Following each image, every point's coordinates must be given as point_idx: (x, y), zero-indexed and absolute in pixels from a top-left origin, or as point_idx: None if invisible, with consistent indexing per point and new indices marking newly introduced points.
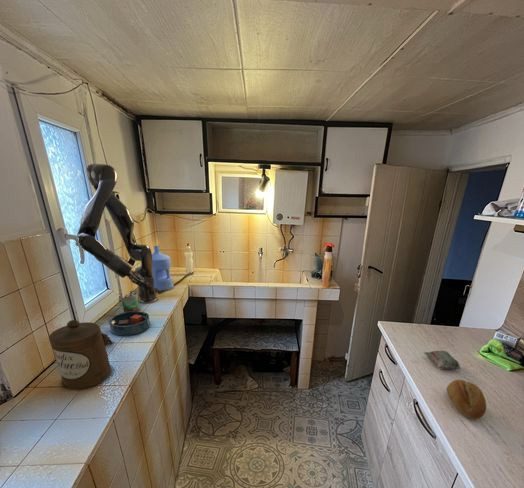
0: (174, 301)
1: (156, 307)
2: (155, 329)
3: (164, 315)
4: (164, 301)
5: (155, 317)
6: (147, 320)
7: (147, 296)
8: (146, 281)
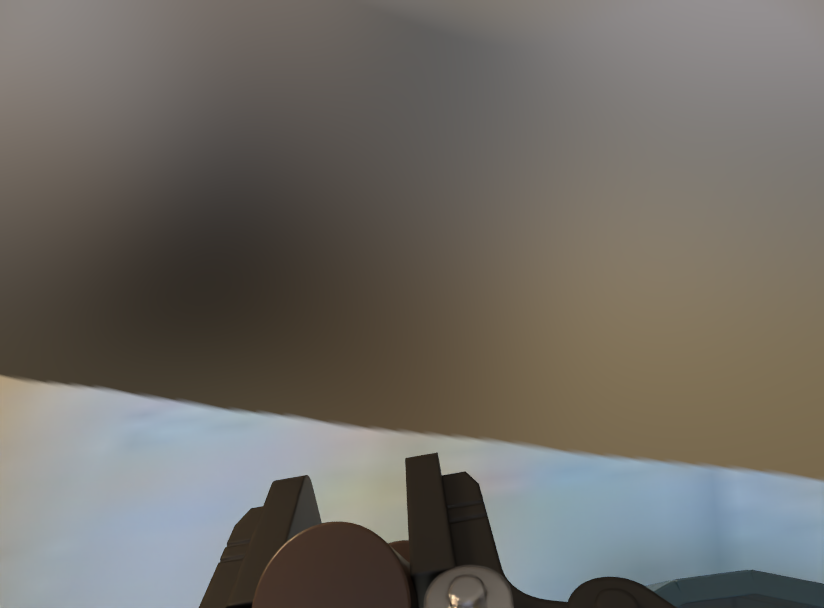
0: (74, 395)
1: (165, 573)
2: (765, 512)
3: None
4: (22, 498)
5: None
6: (810, 583)
7: None
8: (376, 535)
